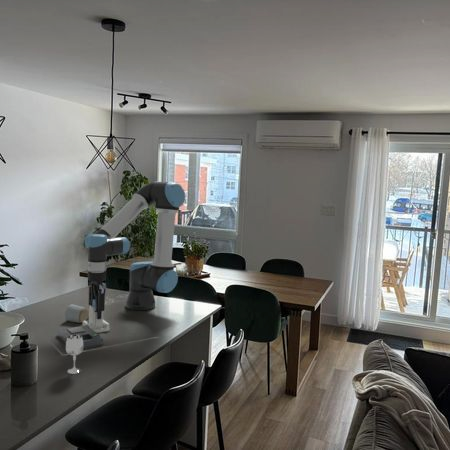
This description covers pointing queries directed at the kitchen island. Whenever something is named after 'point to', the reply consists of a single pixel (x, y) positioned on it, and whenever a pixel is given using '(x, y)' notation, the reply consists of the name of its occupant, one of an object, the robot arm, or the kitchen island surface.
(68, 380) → the kitchen island surface
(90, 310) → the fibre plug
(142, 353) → the kitchen island surface
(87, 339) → the port panel
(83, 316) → the ceramic mug
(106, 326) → the holster
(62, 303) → the kitchen island surface
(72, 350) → the wineglass
